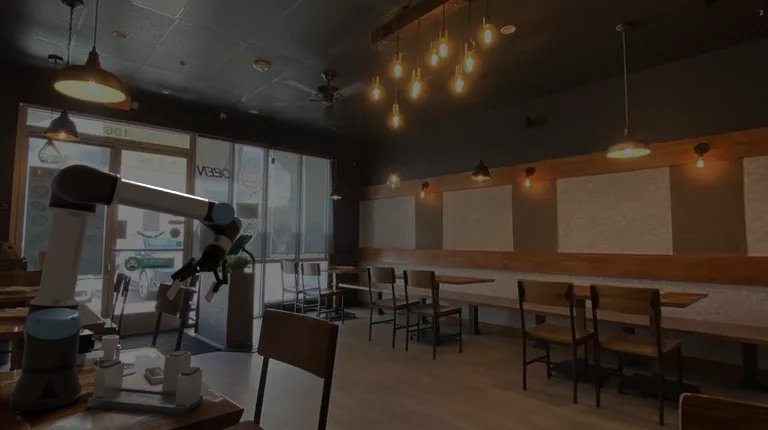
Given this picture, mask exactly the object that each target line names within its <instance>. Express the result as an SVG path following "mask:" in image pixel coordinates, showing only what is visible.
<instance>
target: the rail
mask: <svg viewBox="0 0 768 430" xmlns="http://www.w3.org/2000/svg"><path fill="white" fill-rule="evenodd" d="M124 363H125V361H122V360H121V359H119V360H114V359H113V360H109V361H107V362H104V363H102V364H98V365H99V366H98V367H95V370H94V380H93V389H92V397H89V398H88V399H87V406H86V407H87V408H91V409H93V408H95V409H101V410H102V409H104V410H112V411H113V410H114V411H121V412H131V413H132V412H134V413H143V414H154V415H162V416H163V415H165V416H172V417H184V416H185V415H186V413H187V412H188V413H190V412H191V411H192V410H193V408H194V407H195V408H196V407H198V406H199V405H200V403H201V402H202V403H203V399H204V398H203V397H204V394H203V393H202V392H201V391H202V382H203V368H201V367H198V366H190V368H189V369H187V370H185V371H183V372H181V374H180V375H178V380H177V391H176V392H171V391H162V390H158V389H149V388H148V389H147V388H138V387H137V388H136V387H126V386H124V387H123V379H124V370H125V369H124ZM202 403H201V404H202ZM198 404H199V405H198ZM197 405H198V406H197ZM195 408H194V409H195ZM190 410H191V411H190ZM188 413H187V414H188ZM183 415H184V416H183Z"/></svg>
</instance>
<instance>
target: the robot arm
mask: <svg viewBox="0 0 768 430" xmlns="http://www.w3.org/2000/svg"><path fill="white" fill-rule="evenodd" d="M50 186H51V187H50V189H51V193H50V197H49V203H48V210H49V211H50V212H51V213H52V215H53V217H52V222H51V227H50V232H49V237H48V241H47V247H46V251H45V257H44V263H43V268H42V272H41V273H42V274H41V279H40V283H39V289H38V293H37V296H36V297H34V298H33V299H32V300H30V301H29V305H28V310H27V314H26V319H25V321H24V324H23V328H22V331H23V332H22V333H23V336H24V347H23V355H22V362H21V363H22V364H21V371H20V376H18V377H19V378H18V380H17V382H16V384H15V386H14V388H13V391H12V392H11V394H10V396H9V398H8V399H9V402H8V407H9V408H10V409H12V410H14V411H20V412H33V411H34V412H35V411H44V410H51V409H55V408H60V407H63V406H66V405H70V404H72V403H74V402H76V401H75V397H76V396H77V395H79V394H80V393H81V394H82V391H83V390H82V389H83V388H82V385H81V384H80V378H79V375H78V370H77V366H76V365H77V356H78V346H79V336H80V330H81V329H82V325H83V324H82V321H83V320H82V314H81V312H79V305H80V304H79V303H80V302H79V301H78V300H77V299H76V298H75V293H76V288H77V282H78V276H79V271H80V266H81V262H82V261H81V260H82V255H83V254H82V253H83V250H84V245H85V238H86V233H87V227H88V222H89V219H90V218H92V217H93V216H94V215H96V213H97V207H98V205H100V206H101V205H102V206H108V207H111V206H114V205H120V206H125V207H129V208H135V209H139V210H143V211H144V210H146V211H150V212H155V213H160V214H164V215H171V216H175V217H179V218H186V219H190V220H195V221H198V222H199V223H200V224H202V225H203V226H204V227H205V228H207V229H208V230H209V231H210V232H212V233H213V235H212V236H211V238H210V240H209V241H208V243H207V244H206V246H205V248H204V249H203V251H202V253H201V256H200V258H199V259H196V258H195V257H191V258H190V259H189V261H187V263H185V264H183V266H181V267H179V269H177V270H176V271H175V272H174V273H172V274H171V275H170V278H171V280H172V283H170V286H169V290H168V292H167V293H166V297H167V298H168V300H170V301H173V299H174V298H175V297H176V295H177V294H178V291H179V290H180V288H181V286H182V285H183V284H182V283H184V281H187V280H188V279H190V278H191V277H193V276H194V275H197V274H200V273H211V272H212V273H213V275H214V279H215V281H212V283H211V284H210V287H209V288H208V290H207V292H206V293H205V296H204V299H205V301H206V302H207V303H211V301H212V300H213V298H214V296H215V294H217V293H218V292H219V290H220V288H221V287H222V286H223V285H225V286H227V285H229V270H228V269H229V267H230V263H229V261H228V259H227V258H226V257H227V255H228V253H229V251H230V249H231V248H232V246H233V243H234V242H235V241H236V240H237V238H238V236H239V234H240V232H241V229H242V228H243V223H242V220H241V218H239V217H237V216H236V209H235V208H234V206H233V205H232V204H231V203H229V202H226V201H217V200H213V199H209V198H205V197H199V196H196V195H192V194H187V193H184V192H183V193H182V192H179V191H174V190H169V189H165V188H163V187H157V186H154V185H153V186H152V185H149V184H145V183H140V182H136V181H131V180H128V179H123V178H122V177H121V176H120V174H117V173H113V172H110V171H107V170H106V171H105V170H102V169H100V168H96V167H93V166H90V165H86V164H81V163H80V164H79V163H78V164H71V165H67V166H66V167H64V168H62V169H61V170H60V171H59V172H58V173H56V174H55V176H54V178H53V179H52V181H51V185H50ZM219 267H221V276H220V275H219V272H218V269H219Z"/></svg>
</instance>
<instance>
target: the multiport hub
mask: <svg viewBox="0 0 768 430" xmlns="http://www.w3.org/2000/svg"><path fill="white" fill-rule="evenodd" d="M163 375H164V369H162V367H161V366H154V367H149V368H148V367H146V368H145V369H144V376H145V377H146V379H147V380H148V381H149V383H150V384H151V385H157V384H161V383H162V384H163Z"/></svg>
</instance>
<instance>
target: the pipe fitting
mask: <svg viewBox="0 0 768 430" xmlns="http://www.w3.org/2000/svg"><path fill="white" fill-rule="evenodd" d="M119 341H120V336H119V335H116V334H109V335H103V336H102V337H101V345H99V346H97V350H98V351H102V352H103V357H102V358H103V361H107V362H109V361H112V360H114V359H115V349H116V346H117V345H120V347H121V348H122V346H123V345H122V344H119Z"/></svg>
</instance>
